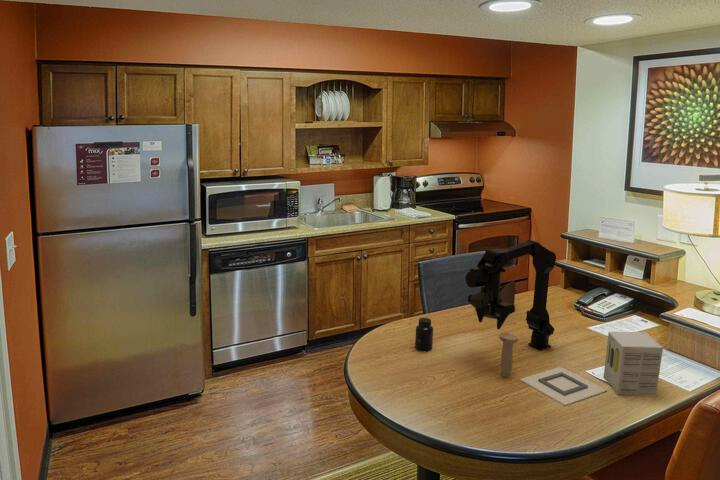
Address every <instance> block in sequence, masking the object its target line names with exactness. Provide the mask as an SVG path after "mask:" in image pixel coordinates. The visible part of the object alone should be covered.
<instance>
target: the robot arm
mask: <svg viewBox="0 0 720 480" xmlns="http://www.w3.org/2000/svg"><path fill="white" fill-rule="evenodd" d="M526 255H529V256H530V257H532V265H533V267H534V270H535V281H534V290H533V301H532V307H531V308H530V309H529V310H527V311H526V312H525V313H526V316H525V317H526V318H525V321H526V324H527V327H528V330H532V332H531V336H530V342H528V343H527V345H528V346H530V347H533V348H535V349H537V350H538V351H542V350H545V349H550V348H551V347H552V345H551V344H549V340H550V336H551V335H553V334H554V332H555V328H554V327H553V325H552V324H551V323H550V313H549V312H548V309H547V302H548V292H549V282H550V274H551V271H552V270H553V269H554V268H555V265H556V260H557V254H556V253H555V252H554V251H553V250H549V249H547V247H545V246H543V245H541V244H540V243H539V241H535V240H532V239H527V240H525V241H524V242H520V243H518V244H515V245H511V246H509V247H504V248H490V249H486V251H485V252H484V254H483V256H482V257H481V258H480V260H479V262H478V263H477V265H476V267H475V268H474V267H471V268H470V270H469V271H468V272H467V273H466V275H465V282H466V283H465V284H466V285H467V286H468V287H469V288H472V289H473V288H480V290H479V291H478V292H475V293H470V294H469V295H468V296H467V302H468V303H469V304H470V305H471V306H472V307H473V308H474V309H475V313H476V315H477V319H478V322H479V323H483V319H484V312H485V307H486V306H487V305H490V306H493V307H496V311H497V312H495V314H496V315H497V319H496V329H497V330H501V328H502V327H503V324H504V323H505V321H506V320H507V318H508V317H509V315H511V314H513V313H515V312H516V306H515V304H514V305H513V304H510V303H507V302H505V303H499V302H501V300H502V299H501V298H499V294H500V291H502V288H501V277H502V273H506V271H507V270H506V269H505V268H504V267H505V266H507V265H508V264H509V262H510V261H512V260H514V259H518V258H521V257H524V256H526Z"/></svg>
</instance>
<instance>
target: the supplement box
mask: <svg viewBox="0 0 720 480" xmlns="http://www.w3.org/2000/svg"><path fill="white" fill-rule="evenodd" d="M663 351H664V347H663V346H662V345H661V344H659V342H657V341H656V340H655V339H654V338H653V337H652V336H650V335H649V333H647V332H645V331H642V332H641V331H608V335H607V344H606V352H605V353H606V354H605V359H604V360H605V361H604V370H603V378H604V377H605V378H606V380H607V381H608V382H609V383H608V382H607V381H606V380H605V381H606V382H607V383H608V385H609V384H610V385H611V386H612V387H611V386H610V387H611V389H612V390H613V389H614V390H615V391H616V392H615V391H614V390H613V391H614V392H615V393H616V395H617V394H628V395H627V396H644V395H656V396H657V391H658V385H659V377H660V370H661V364H662V356H663ZM605 378H604V379H605ZM630 394H631V395H630Z"/></svg>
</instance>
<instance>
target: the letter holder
mask: <svg viewBox="0 0 720 480" xmlns="http://www.w3.org/2000/svg"><path fill="white" fill-rule="evenodd" d="M500 287H501V288H502V291H500V294H499V298H501V299H502V300H501V302H499V303H505V302H507V303H510V304H513V305H514V306H515V300H516V299H515V298H516V297H515V296H516V281H515V280H512V281H510V282H508V283H507V284H506V285H505V284H504V285H502V286H501V285H500ZM495 312H497V311H496V307H493V306H490V305H487V306H486V307H485V312H484V317H486V318H488V319H489V318H490V319H495V320H497V315H496V314H495ZM484 317H483V318H484Z"/></svg>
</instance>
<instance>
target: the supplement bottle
mask: <svg viewBox="0 0 720 480" xmlns="http://www.w3.org/2000/svg"><path fill="white" fill-rule="evenodd" d="M414 340H415V341H414V347H415V349H416V350H417V351H419V352H423V351H426V352H430V351H431V350H432V349H433V345H434V343H433V340H434V326H432V319H431V318H428V317H420V318H419V319H418V325H417V326H416V327H415V338H414Z"/></svg>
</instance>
